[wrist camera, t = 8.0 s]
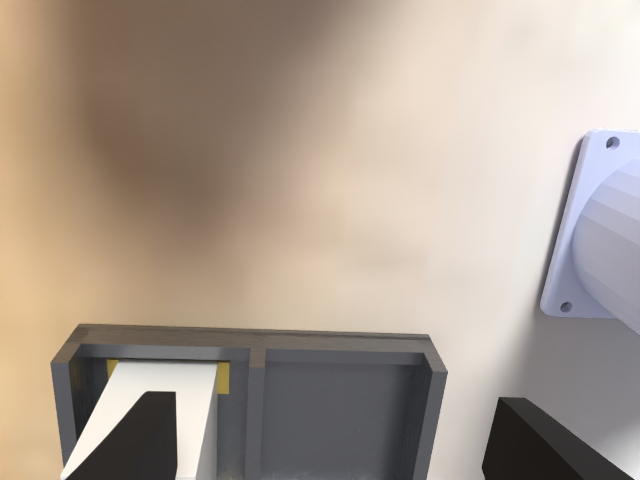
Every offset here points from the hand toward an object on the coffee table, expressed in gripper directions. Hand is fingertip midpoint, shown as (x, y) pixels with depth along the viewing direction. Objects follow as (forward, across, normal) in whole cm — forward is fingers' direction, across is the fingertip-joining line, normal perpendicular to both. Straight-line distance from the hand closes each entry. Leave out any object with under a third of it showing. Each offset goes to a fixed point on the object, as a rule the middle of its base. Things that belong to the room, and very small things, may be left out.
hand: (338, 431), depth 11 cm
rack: (+10, +2, +9) cm, 14 cm away
